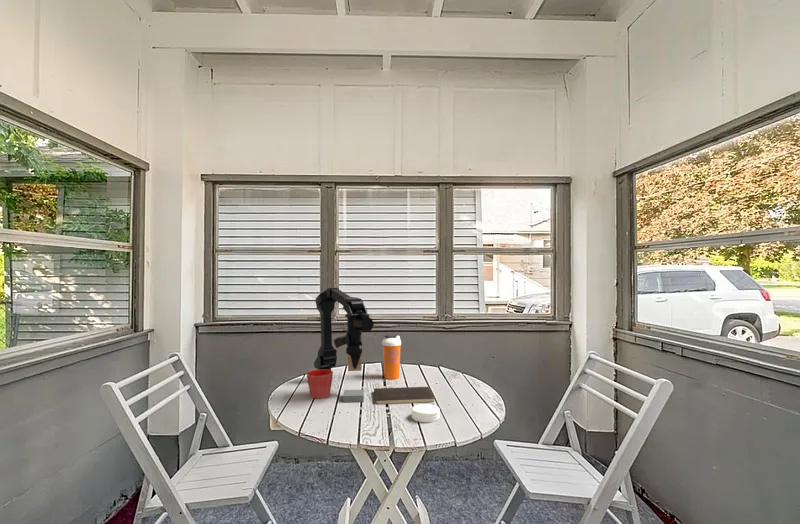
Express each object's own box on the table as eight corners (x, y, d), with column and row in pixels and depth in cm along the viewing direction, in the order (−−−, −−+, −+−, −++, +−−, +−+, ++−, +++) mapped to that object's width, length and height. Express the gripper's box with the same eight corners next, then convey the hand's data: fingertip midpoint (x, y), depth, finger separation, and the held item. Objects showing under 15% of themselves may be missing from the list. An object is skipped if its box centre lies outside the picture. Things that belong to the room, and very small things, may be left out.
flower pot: (300, 397, 182) (300, 373, 182) (317, 390, 191) (317, 367, 191) (321, 401, 177) (321, 376, 177) (338, 394, 186) (338, 370, 186)
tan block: (348, 368, 188) (348, 354, 188) (361, 367, 189) (361, 354, 189) (348, 371, 183) (347, 357, 183) (361, 370, 183) (361, 357, 183)
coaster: (422, 411, 166) (422, 401, 166) (445, 417, 160) (445, 407, 160) (405, 418, 158) (405, 408, 158) (428, 425, 152) (428, 415, 152)
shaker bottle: (379, 376, 214) (379, 334, 214) (396, 374, 218) (396, 332, 218) (386, 380, 206) (386, 337, 206) (404, 378, 210) (404, 335, 210)
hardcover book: (435, 403, 176) (435, 397, 176) (376, 405, 173) (376, 399, 173) (428, 391, 191) (428, 386, 191) (374, 393, 189) (374, 388, 189)
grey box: (344, 396, 184) (344, 390, 184) (363, 395, 184) (363, 389, 184) (343, 402, 176) (343, 396, 176) (363, 401, 176) (363, 395, 176)
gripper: (335, 326, 194) (336, 362, 194) (333, 333, 176) (333, 372, 176) (361, 325, 195) (362, 361, 195) (361, 332, 177) (362, 372, 177)
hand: (354, 366), depth 186 cm, fingers closed on tan block, 5 cm apart
